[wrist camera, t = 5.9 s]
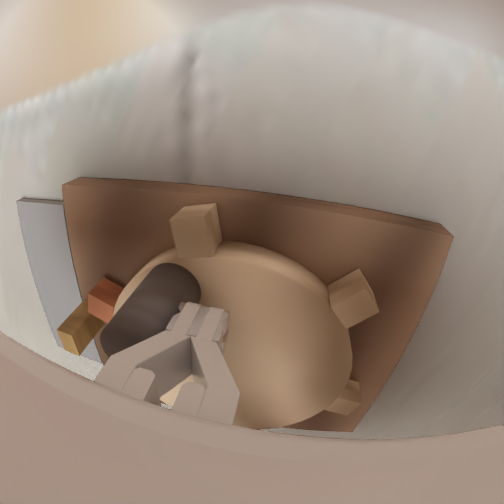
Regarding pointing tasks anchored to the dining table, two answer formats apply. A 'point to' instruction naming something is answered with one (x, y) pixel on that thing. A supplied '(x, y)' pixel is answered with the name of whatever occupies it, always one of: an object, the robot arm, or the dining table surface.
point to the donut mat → (52, 263)
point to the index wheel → (247, 319)
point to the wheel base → (273, 238)
